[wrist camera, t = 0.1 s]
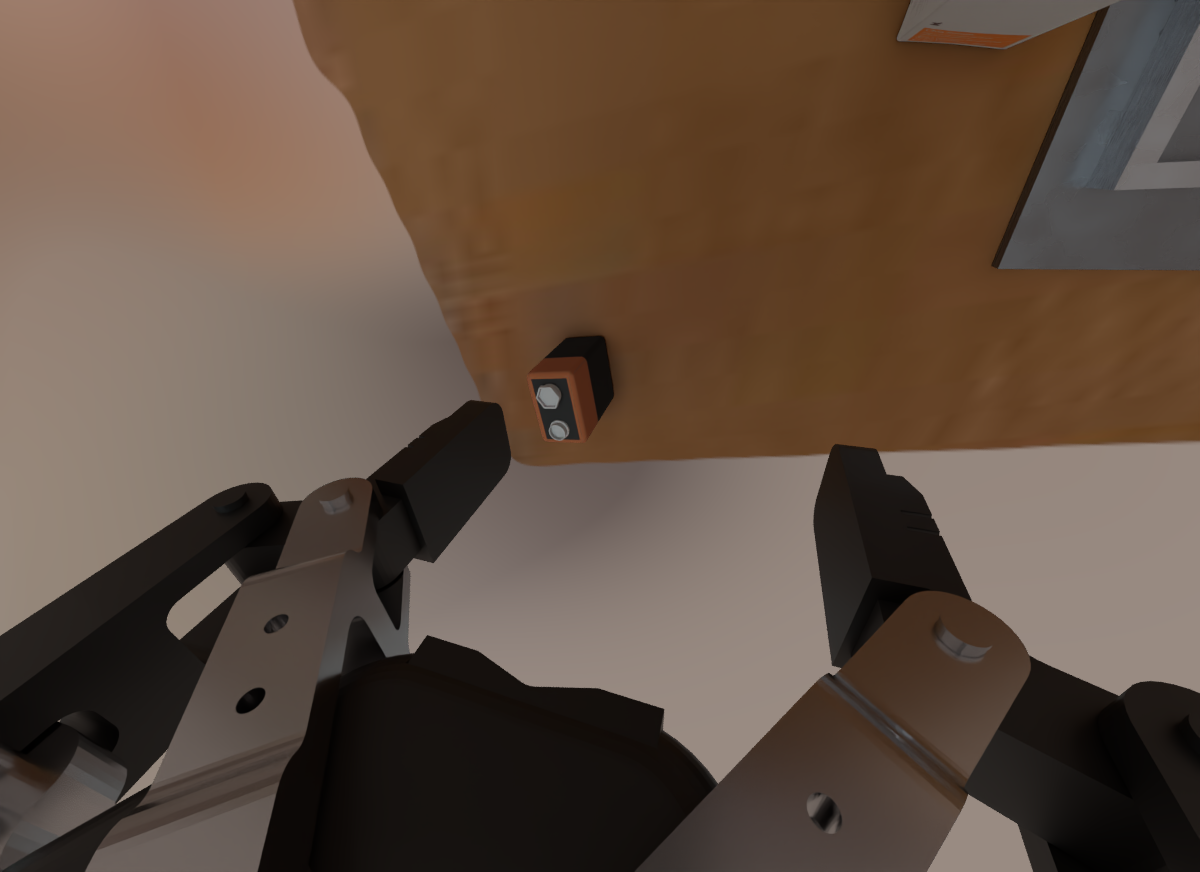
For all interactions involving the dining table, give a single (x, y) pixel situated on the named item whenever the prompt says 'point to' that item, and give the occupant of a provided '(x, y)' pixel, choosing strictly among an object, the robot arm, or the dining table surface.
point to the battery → (571, 389)
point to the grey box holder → (1119, 151)
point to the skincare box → (990, 20)
